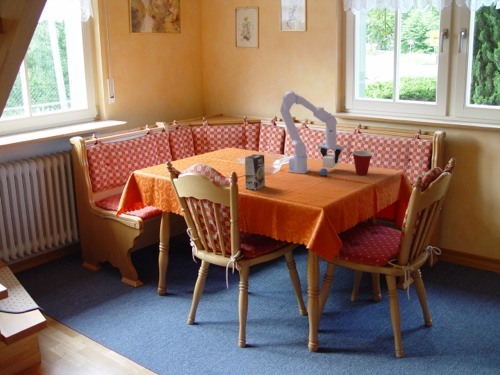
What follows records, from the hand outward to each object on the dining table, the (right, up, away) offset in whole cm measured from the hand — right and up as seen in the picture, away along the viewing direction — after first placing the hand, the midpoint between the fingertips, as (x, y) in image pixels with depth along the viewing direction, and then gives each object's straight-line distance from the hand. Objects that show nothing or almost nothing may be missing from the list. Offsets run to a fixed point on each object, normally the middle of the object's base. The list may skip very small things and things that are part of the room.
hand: (330, 162), depth 339 cm
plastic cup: (+16, -7, -7) cm, 19 cm away
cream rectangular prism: (0, -1, 0) cm, 2 cm away
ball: (-5, -5, -8) cm, 11 cm away
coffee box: (-41, -14, -25) cm, 50 cm away
